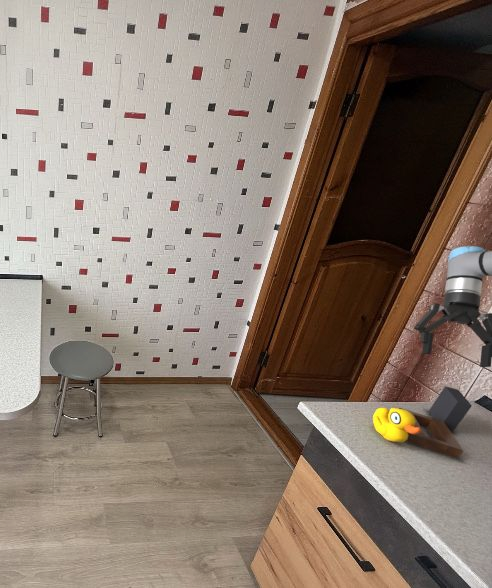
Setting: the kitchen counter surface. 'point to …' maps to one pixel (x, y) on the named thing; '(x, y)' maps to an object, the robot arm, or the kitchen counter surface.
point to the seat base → (434, 436)
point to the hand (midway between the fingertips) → (455, 360)
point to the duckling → (394, 424)
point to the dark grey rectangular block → (450, 407)
